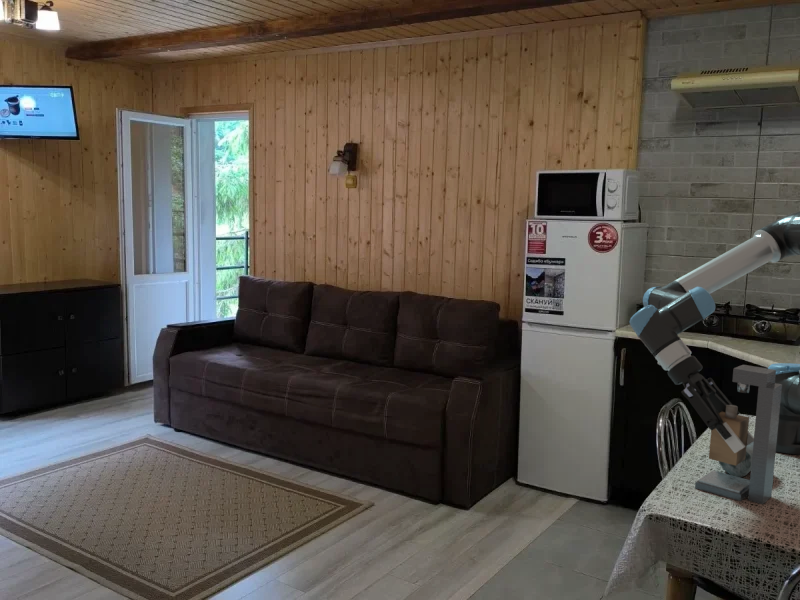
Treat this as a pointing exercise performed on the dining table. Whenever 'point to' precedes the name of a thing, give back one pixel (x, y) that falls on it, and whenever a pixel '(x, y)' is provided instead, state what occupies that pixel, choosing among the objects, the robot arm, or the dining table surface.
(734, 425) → the brown bottle
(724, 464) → the blue grey streaked ovoid
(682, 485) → the dining table surface
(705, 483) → the press
